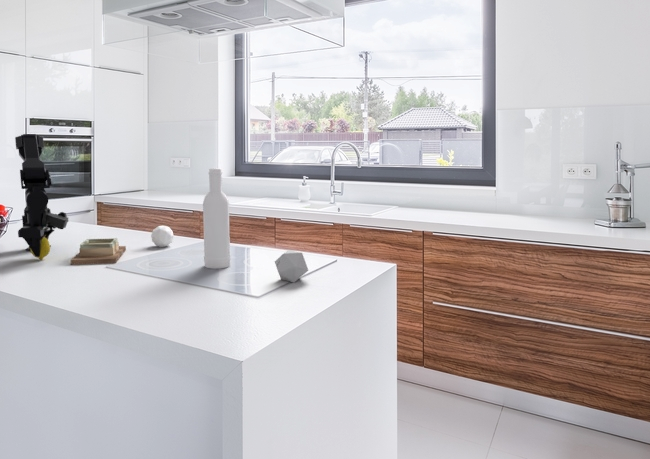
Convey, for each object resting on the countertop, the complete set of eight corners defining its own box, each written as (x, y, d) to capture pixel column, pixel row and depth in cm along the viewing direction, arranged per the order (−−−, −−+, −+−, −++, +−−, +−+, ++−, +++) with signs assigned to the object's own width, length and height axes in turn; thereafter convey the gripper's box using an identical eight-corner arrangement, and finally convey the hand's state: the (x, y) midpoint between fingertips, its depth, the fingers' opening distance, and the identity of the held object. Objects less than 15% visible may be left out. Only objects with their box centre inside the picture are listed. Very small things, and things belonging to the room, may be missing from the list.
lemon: (42, 261, 163) (40, 236, 162) (27, 260, 164) (25, 236, 163) (54, 258, 169) (52, 233, 167) (39, 257, 170) (37, 233, 168)
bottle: (230, 268, 157) (228, 169, 152) (203, 269, 156) (200, 168, 151) (230, 262, 165) (228, 167, 160) (205, 263, 164) (202, 167, 159)
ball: (164, 254, 188) (160, 240, 182) (149, 244, 191) (144, 230, 185) (179, 242, 192) (176, 227, 187) (164, 232, 195) (160, 217, 190)
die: (282, 276, 151) (266, 253, 146) (309, 262, 151) (294, 237, 146) (288, 294, 144) (271, 270, 139) (316, 279, 144) (301, 254, 139)
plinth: (86, 251, 179) (85, 236, 178) (125, 250, 182) (125, 235, 181) (71, 264, 160) (69, 248, 159) (115, 263, 163) (115, 246, 162)
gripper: (56, 209, 156) (60, 260, 159) (72, 202, 174) (75, 248, 177) (15, 210, 154) (19, 261, 156) (35, 202, 172) (39, 249, 174)
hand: (40, 254), depth 166 cm, fingers closed on lemon, 5 cm apart
